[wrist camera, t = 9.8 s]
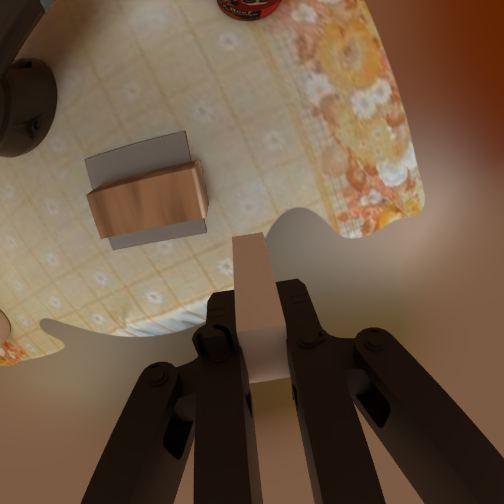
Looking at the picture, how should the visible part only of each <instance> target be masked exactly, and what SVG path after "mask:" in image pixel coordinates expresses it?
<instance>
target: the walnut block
mask: <svg viewBox="0 0 504 504" xmlns="http://www.w3.org/2000/svg"><path fill="white" fill-rule="evenodd" d="M86 196H87V199H88V202H89V205H90V208H91V211H92V214H93V217H94V220H95V223H96V226H97V229H98V232H99V235H100V237H101V239H103V238H107V237H112V236H117V235H121V234H126V233H131V232H136V231H141V230H146V229H150V228H155V227H161V226H166V225H171V224H176V223H181V222H187V221H192V220H198V219H203V218H206V215H207V210H208V205H209V203H208V198H207V193H206V188H205V184H204V179H203V174H202V169H201V164H200V160H197V161H192V162H187V163H183V164H178V165H174V166H169V167H165V168H160V169H156V170H152V171H148V172H144V173H140V174H136V175H132V176H128V177H125V178H121V179H117V180H114V181H110V182H107V183H103V184H101V185H100V186H98V187H97V188H95V189H94V190H93V191H91V192H90V193H89V194H87V195H86Z"/></svg>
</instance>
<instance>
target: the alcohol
mask: <svg viewBox="0 0 504 504" xmlns="http://www.w3.org/2000/svg"><path fill="white" fill-rule="evenodd" d="M9 334H10V324H9V321H8V320H7V318H6V316H5V315H4V314H3V313H2V312H1V311H0V348H1V346H2V345H3V343H4V341H5V340H6V338H7V337H8V335H9Z"/></svg>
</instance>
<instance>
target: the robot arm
mask: <svg viewBox="0 0 504 504" xmlns="http://www.w3.org/2000/svg"><path fill="white" fill-rule="evenodd" d="M53 1H54V0H0V156H2V157H16V156H19V155H22V154H24V153H27V152H29V151H31V150H32V149H34V148H35V147H36V146H37V145H38V144H39V143H40V142H41V141H42V140H43V138H44V137H45V135H46V134H47V132H48V130H49V128H50V126H51V123H52V120H53V117H54V114H55V109H56V101H57V90H56V83H55V79H54V76H53V74H52V72H51V70H50V69H49V67H48V66H47V65H46V64H45V63H43V62H42V61H40V60H37V59H30V58H20V59H16V60H14V59H15V57H16V55H17V54H18V52H19V50H20V49H21V47H22V46H23V44H24V42H25V41H26V39H27V38H28V36H29V35H30V33H31V32H32V30H33V29H34V27H35V26H36V25H37V23H38V22H39V20H40V19H41V18H42V16H43V15H44V14H46V13H47V12H48V9H49V6H50V5H51V4H52V2H53ZM232 243H233V269H234V290H229V291H222V292H216V293H213V294H212V295H211V297H210V298H209V300H208V302H207V316H206V318H207V319H206V324H205V325H203V326H202V327H200V328H198V330H197V331H196V332H195V333H194V335H193V338H192V340H193V343H194V346H195V348H196V351H197V353H198V357H197V358H196V359H195V360H193V361H192V362H189V363H187V364H185V365H182V366H179V367H174V366H173V365H172V364H171V363H168V362H157V363H154V364H151V365H149V366H148V367H147V368H145V369H144V371H143V372H142V373H141V375H140V377H139V379H138V381H137V383H136V385H135V387H134V389H133V391H132V393H131V395H130V397H129V399H128V401H127V403H126V405H125V407H124V409H123V411H122V413H121V415H120V417H119V420H118V421H117V423H116V426H115V428H114V430H113V432H112V434H111V436H110V439H109V441H108V443H107V445H106V447H105V449H104V451H103V454H102V456H101V459H100V460H99V462H98V465H97V467H96V469H95V471H94V474H93V476H92V478H91V480H90V483H89V485H88V487H87V490H86V492H85V494H84V497H83V499H82V502H81V504H173V503H174V500H175V497H176V494H177V491H178V487H179V484H180V481H181V478H182V475H183V472H184V469H185V465H186V462H187V459H188V456H189V453H190V450H191V446H192V443H193V440H194V437H195V445H194V504H263V499H262V490H261V481H260V472H259V463H258V453H257V444H256V434H255V425H254V414H253V405H252V395H251V392H250V388H249V383H255V382H262V381H268V380H275V379H280V378H286V377H291V381H292V395H293V400H294V401H295V406H296V411H297V416H298V421H299V425H300V431H301V436H302V441H303V446H304V450H305V456H306V461H307V466H308V471H309V476H310V481H311V487H312V492H313V497H314V503H315V504H386V503H385V500H384V496H383V493H382V489H381V486H380V483H379V479H378V476H377V473H376V470H375V466H374V463H373V460H372V457H371V454H370V451H369V448H368V444H367V441H366V438H365V435H364V433H363V429H362V426H361V423H360V420H359V418H358V415H357V412H356V409H355V406H354V404H355V405H356V407H357V408H358V409H359V411H360V412H361V414H362V415H363V416H364V418H365V419H366V421H367V422H368V424H369V425H370V427H371V428H372V429H373V431H374V432H375V434H376V435H377V436H378V438H379V439H380V441H381V442H382V443H383V445H384V446H385V448H386V449H387V451H388V452H389V453H390V455H391V456H392V457H393V459H394V461H395V462H396V464H397V465H398V466H399V468H400V469H401V471H402V472H403V473H404V475H405V476H406V478H407V479H408V480H409V482H410V483H411V485H412V486H413V488H414V489H415V490H416V492H417V493H418V494H419V496H420V498H421V499H422V500H423V502H424V503H425V504H504V458H503V457H502V456H501V454H500V453H499V452H498V451H497V450H496V448H495V447H494V446H493V445H492V444H491V443H490V441H489V440H488V439H487V438H486V437H485V435H484V434H483V433H482V432H481V431H480V430H479V429H478V427H477V426H476V425H475V424H474V423H473V422H472V420H471V419H470V418H469V417H468V416H467V415H466V414H465V413H464V412H463V410H462V409H461V408H460V407H459V406H458V405H457V404H456V402H455V401H454V400H453V399H452V398H451V397H450V396H449V395H448V394H447V393H446V392H445V390H444V389H443V388H442V387H441V386H440V385H439V384H438V383H437V382H436V381H435V380H434V379H433V377H432V376H431V375H430V374H429V373H428V372H427V371H426V370H425V369H424V368H423V367H422V366H421V365H420V364H419V363H418V362H417V360H416V359H415V358H414V357H413V356H412V355H411V354H410V353H409V352H408V351H407V350H406V349H405V348H404V347H403V346H402V345H401V344H400V343H399V342H398V341H397V340H396V339H395V338H394V337H393V336H392V335H391V334H390V333H389V332H387V331H386V330H384V329H381V328H367V329H364V330H362V331H361V332H359V333H358V334H357V336H356V338H338V337H334V336H331V335H329V334H328V333H327V332H326V331H325V330H323V329H322V327H321V325H320V323H319V320H318V317H317V314H316V312H315V309H314V306H313V304H312V302H311V299H310V296H309V294H308V291H307V288H306V286H305V284H304V283H302V282H301V281H300V280H299V279H292V280H287V281H280V282H275V279H274V275H273V271H272V267H271V264H270V259H269V255H268V251H267V247H266V244H265V239H264V235H263V232H261V233H255V234H249V235H242V236H236V237H232ZM353 402H354V403H353Z"/></svg>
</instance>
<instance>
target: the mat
mask: <svg viewBox="0 0 504 504" xmlns="http://www.w3.org/2000/svg"><path fill="white" fill-rule="evenodd" d="M187 162H191V157H190V152H189V147H188V142H187V137H186V132H185V131H184V132H179V133H175V134H171V135H166V136H162V137H158V138H154V139H151V140H147V141H143V142H139V143H136V144H132V145H129V146H125V147H122V148H119V149H115V150H112V151H109V152H106V153H103V154H100V155H97V156H94V157H91V158H88V159H85V163H86V167H87V171H88V175H89V178H90V182H91V185H92V189H93V190H94V189H95V188H97V187H98V186H100V185H101V184H103V183H107V182H110V181H114V180H117V179H121V178H125V177H128V176H132V175H136V174H140V173H144V172H148V171H152V170H156V169H160V168H165V167H169V166H174V165H178V164H183V163H187ZM206 232H207V230H206V226H205V221H204V218H203V219H198V220H192V221H187V222H181V223H176V224H171V225H166V226H161V227H155V228H150V229H146V230H141V231H136V232H131V233H126V234H121V235H117V236H112V237H108V238H109V240H110V243H111V246H112V249H113V250H116V249H121V248H127V247H132V246H137V245H142V244H147V243H153V242H158V241H164V240H169V239H175V238H180V237H186V236H191V235H197V234H203V233H206Z"/></svg>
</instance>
